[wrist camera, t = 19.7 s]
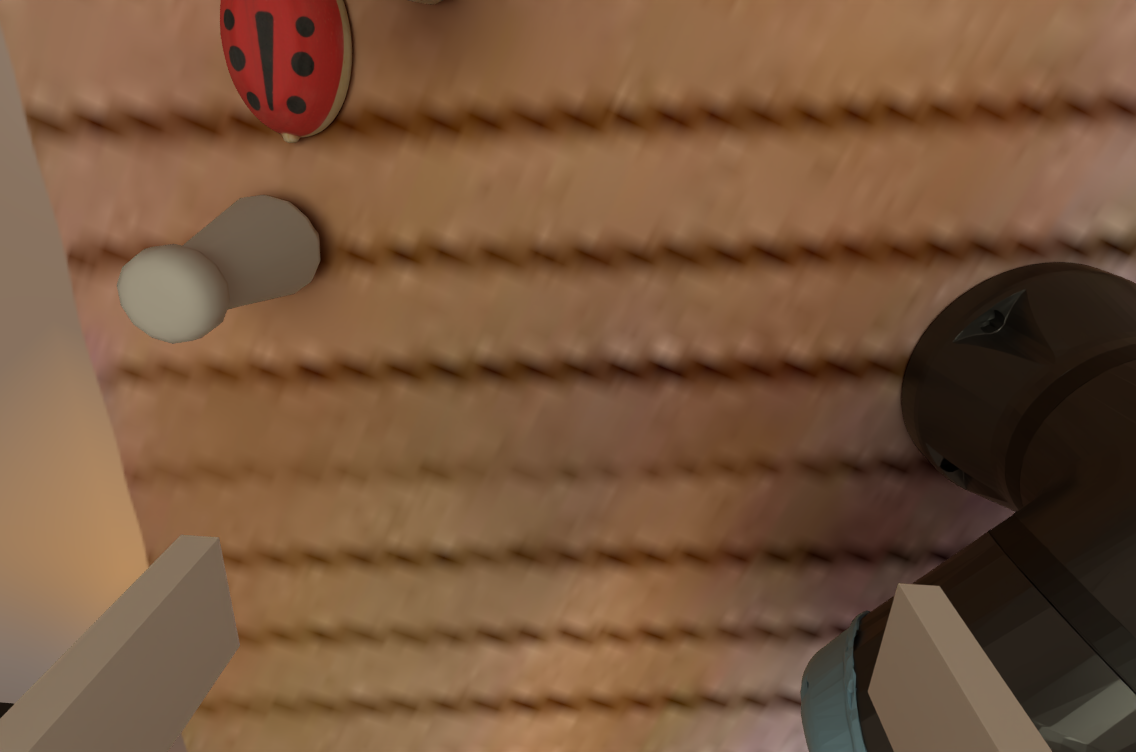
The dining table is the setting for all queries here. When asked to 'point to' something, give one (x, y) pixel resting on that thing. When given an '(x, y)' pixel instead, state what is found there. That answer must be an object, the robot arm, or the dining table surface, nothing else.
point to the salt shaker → (220, 269)
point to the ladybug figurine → (289, 60)
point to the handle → (427, 1)
